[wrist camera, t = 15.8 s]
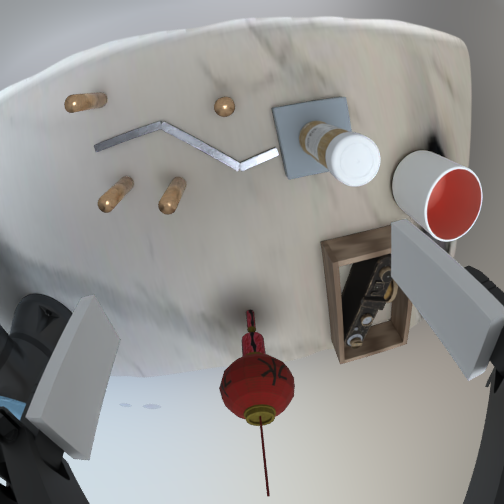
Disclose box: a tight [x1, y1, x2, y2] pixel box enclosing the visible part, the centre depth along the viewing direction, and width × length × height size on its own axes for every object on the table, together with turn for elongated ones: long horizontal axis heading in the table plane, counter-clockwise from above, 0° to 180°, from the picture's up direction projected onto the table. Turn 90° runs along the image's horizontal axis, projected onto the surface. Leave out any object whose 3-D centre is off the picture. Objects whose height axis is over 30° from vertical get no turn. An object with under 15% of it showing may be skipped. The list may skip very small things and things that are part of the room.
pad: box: [272, 97, 352, 179], centre depth 37 cm, size 9×9×2 cm
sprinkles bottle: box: [299, 121, 380, 186], centre depth 30 cm, size 5×5×13 cm
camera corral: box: [321, 225, 412, 364], centre depth 47 cm, size 13×21×6 cm, turn 13°
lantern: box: [219, 310, 295, 496], centre depth 37 cm, size 10×10×30 cm
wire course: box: [64, 93, 279, 214], centre depth 33 cm, size 23×16×8 cm
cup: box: [392, 150, 482, 241], centre depth 37 cm, size 10×10×10 cm
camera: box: [341, 253, 398, 349], centre depth 46 cm, size 16×7×8 cm, turn 170°
